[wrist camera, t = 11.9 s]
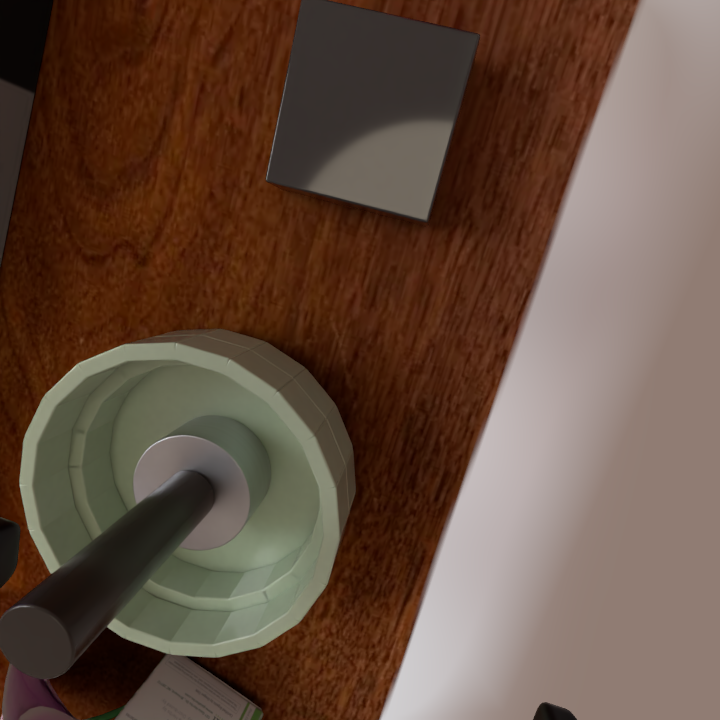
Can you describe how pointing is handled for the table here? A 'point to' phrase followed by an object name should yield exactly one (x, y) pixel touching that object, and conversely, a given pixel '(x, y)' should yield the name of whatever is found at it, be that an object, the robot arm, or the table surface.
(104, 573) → the black post
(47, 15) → the book
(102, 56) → the table surface
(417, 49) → the pole stand base
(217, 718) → the syrup box
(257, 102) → the table surface
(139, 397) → the bowl
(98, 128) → the table surface
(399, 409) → the table surface
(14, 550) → the robot arm
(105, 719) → the lily
